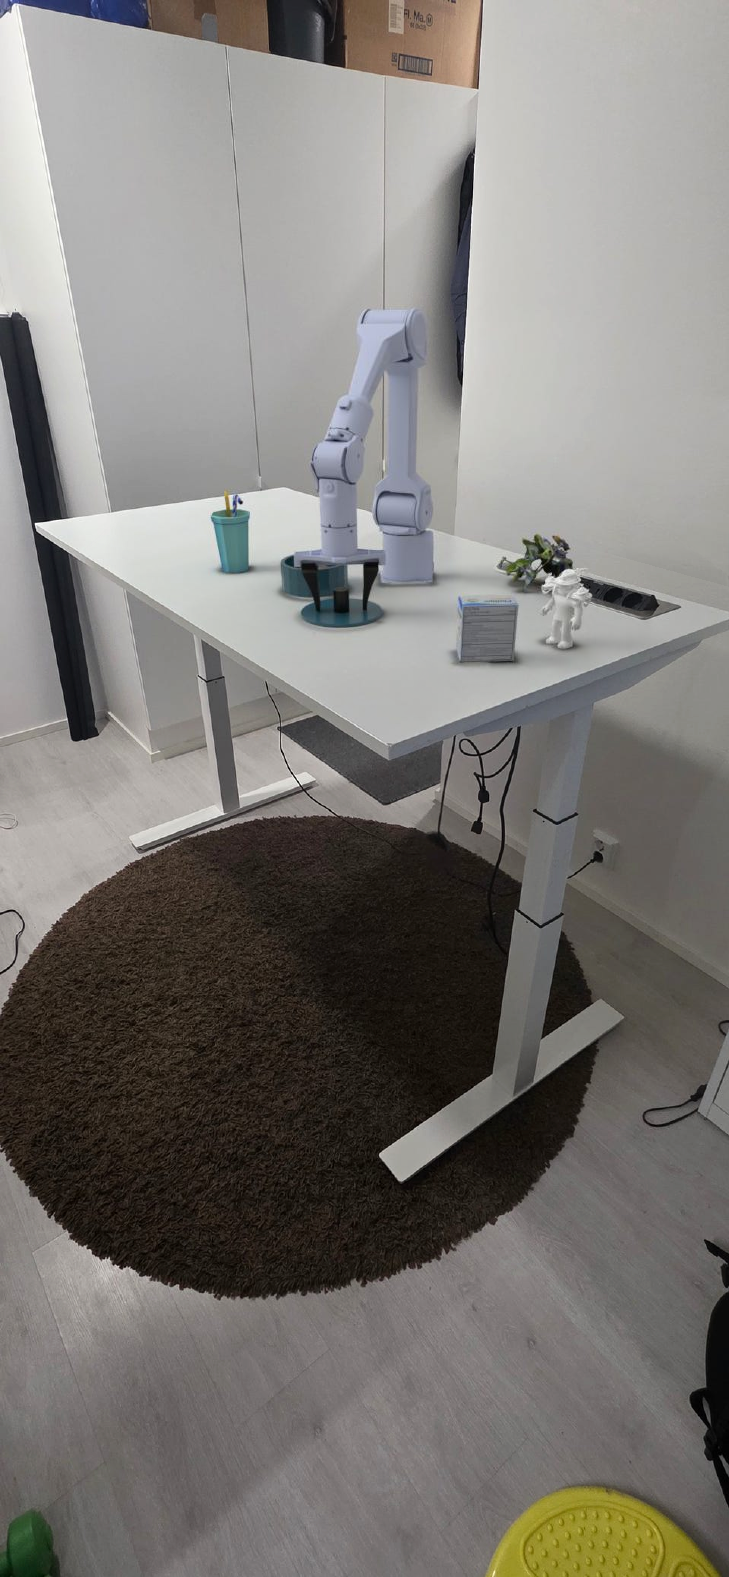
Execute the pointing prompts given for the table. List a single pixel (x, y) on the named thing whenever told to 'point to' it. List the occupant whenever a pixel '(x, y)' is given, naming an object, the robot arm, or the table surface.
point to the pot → (326, 577)
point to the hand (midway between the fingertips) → (341, 608)
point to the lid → (341, 611)
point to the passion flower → (543, 550)
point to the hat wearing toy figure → (565, 605)
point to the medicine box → (486, 627)
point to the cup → (232, 536)
